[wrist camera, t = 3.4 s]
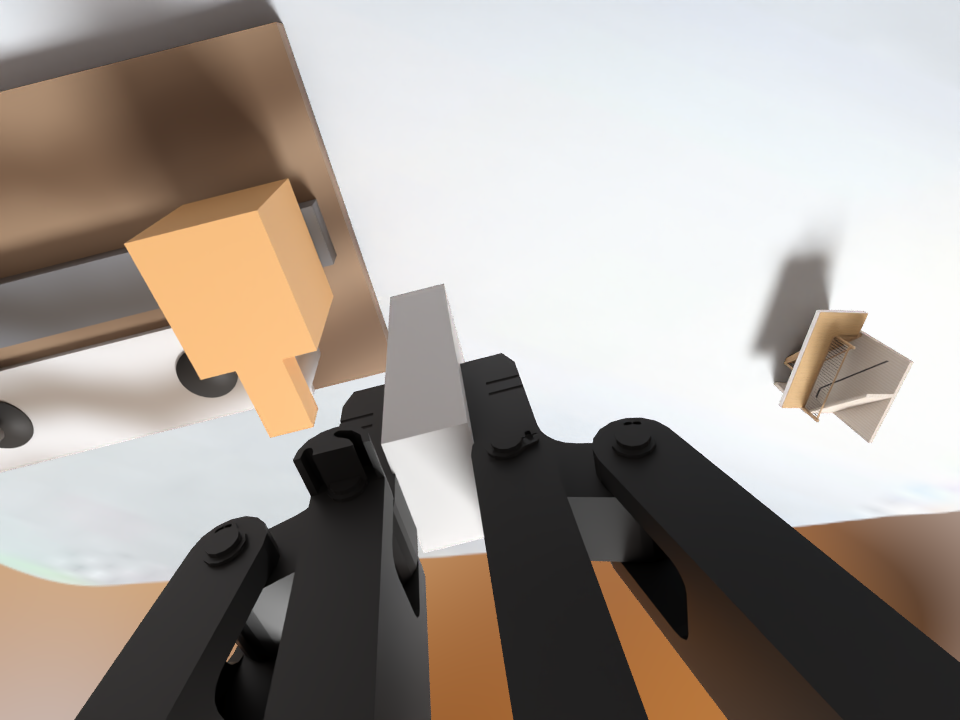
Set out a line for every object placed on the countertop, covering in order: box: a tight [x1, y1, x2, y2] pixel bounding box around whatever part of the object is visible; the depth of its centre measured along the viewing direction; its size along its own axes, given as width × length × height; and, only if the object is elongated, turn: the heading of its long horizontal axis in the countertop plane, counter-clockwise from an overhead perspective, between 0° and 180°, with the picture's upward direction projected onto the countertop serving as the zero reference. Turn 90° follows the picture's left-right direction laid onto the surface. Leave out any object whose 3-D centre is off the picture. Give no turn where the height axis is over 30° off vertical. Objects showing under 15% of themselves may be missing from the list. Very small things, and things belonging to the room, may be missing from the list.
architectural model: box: [774, 310, 913, 443], centre depth 34 cm, size 3×7×7 cm, turn 175°
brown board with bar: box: [0, 22, 388, 472], centre depth 25 cm, size 18×26×9 cm
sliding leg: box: [124, 178, 333, 438], centre depth 25 cm, size 10×5×6 cm, turn 12°
